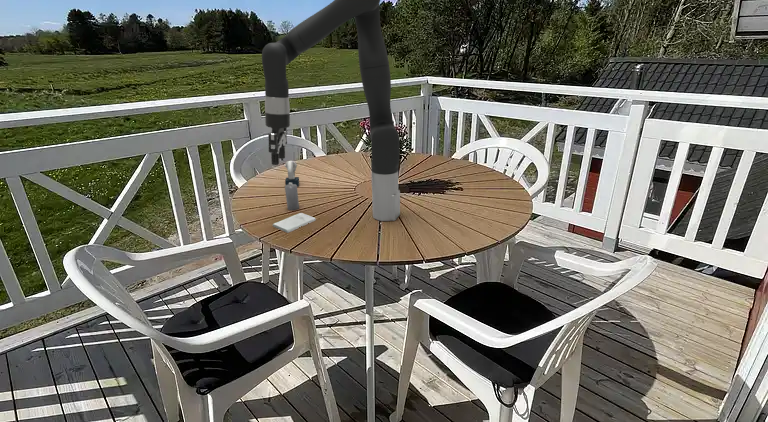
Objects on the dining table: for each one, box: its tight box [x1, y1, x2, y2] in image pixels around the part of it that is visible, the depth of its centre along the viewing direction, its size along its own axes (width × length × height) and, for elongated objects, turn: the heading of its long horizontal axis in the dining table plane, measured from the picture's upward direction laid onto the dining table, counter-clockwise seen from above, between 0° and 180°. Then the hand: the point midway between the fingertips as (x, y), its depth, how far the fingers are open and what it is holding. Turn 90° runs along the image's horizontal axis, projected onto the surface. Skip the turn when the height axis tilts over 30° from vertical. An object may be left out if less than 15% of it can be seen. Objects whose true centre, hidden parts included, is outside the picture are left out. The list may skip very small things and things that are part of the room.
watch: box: [284, 160, 300, 188], centre depth 171 cm, size 6×8×11 cm
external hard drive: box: [272, 212, 317, 234], centre depth 138 cm, size 2×8×12 cm
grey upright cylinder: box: [284, 183, 300, 211], centre depth 148 cm, size 4×4×10 cm
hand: (278, 161), depth 130 cm, fingers open, 8 cm apart
